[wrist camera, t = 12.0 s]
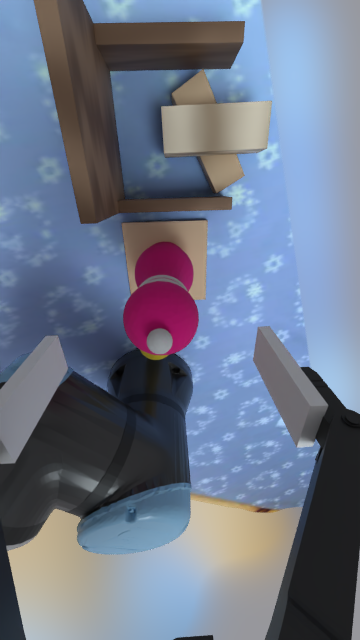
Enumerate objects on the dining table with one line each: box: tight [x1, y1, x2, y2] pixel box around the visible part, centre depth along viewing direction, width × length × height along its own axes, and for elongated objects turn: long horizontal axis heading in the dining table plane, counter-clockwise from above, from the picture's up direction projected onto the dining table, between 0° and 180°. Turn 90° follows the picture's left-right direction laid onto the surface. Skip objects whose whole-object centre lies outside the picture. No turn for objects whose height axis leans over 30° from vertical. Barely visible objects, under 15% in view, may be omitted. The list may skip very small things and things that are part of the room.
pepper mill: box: [123, 242, 199, 356], centre depth 24 cm, size 7×7×20 cm
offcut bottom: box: [172, 69, 245, 193], centre depth 26 cm, size 10×4×3 cm, turn 30°
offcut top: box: [161, 101, 272, 158], centre depth 24 cm, size 10×4×3 cm, turn 93°
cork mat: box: [122, 220, 208, 300], centre depth 33 cm, size 11×11×1 cm
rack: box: [34, 0, 245, 224], centre depth 21 cm, size 14×14×14 cm
